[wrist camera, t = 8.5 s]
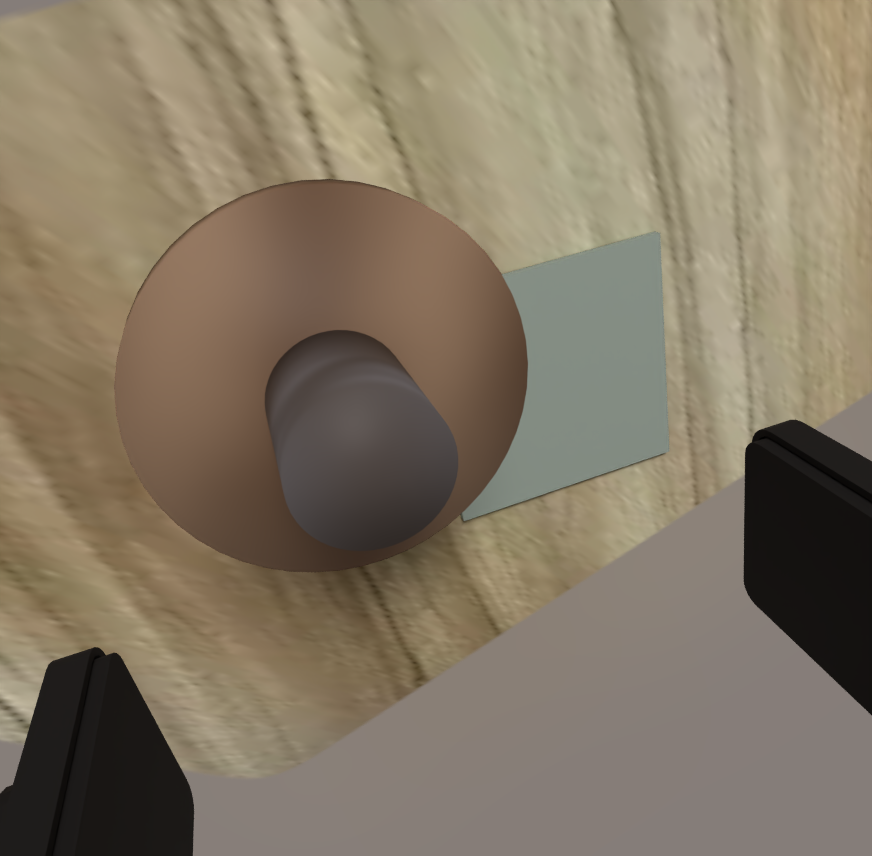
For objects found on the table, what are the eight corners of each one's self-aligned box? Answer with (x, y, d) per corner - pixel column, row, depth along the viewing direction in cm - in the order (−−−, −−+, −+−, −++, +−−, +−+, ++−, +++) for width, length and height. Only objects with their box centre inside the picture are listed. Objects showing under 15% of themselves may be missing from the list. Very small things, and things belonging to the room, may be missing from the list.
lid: (478, 132, 17) (577, 145, 13) (536, 483, 22) (621, 582, 17) (41, 245, 15) (-19, 306, 11) (205, 600, 20) (208, 741, 16)
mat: (655, 231, 33) (660, 232, 33) (664, 447, 38) (669, 451, 38) (415, 298, 31) (417, 300, 31) (461, 517, 36) (464, 521, 36)
